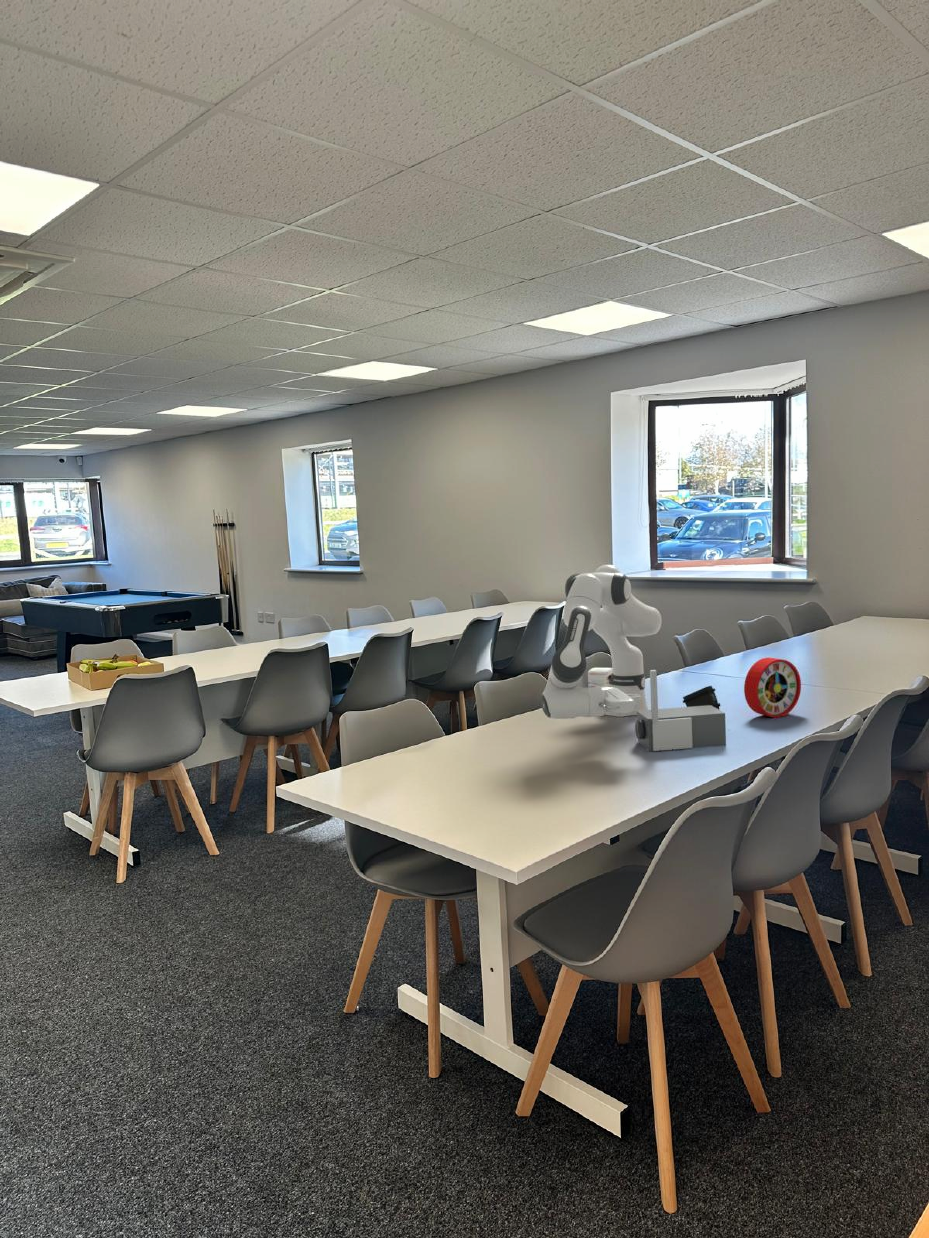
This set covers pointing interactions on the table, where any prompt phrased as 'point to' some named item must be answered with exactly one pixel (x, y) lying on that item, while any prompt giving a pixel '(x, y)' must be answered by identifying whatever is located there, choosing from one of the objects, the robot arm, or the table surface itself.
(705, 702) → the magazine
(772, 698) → the toy clock
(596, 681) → the ink box
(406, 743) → the table surface
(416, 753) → the table surface
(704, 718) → the camera housing
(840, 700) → the table surface
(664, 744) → the door
